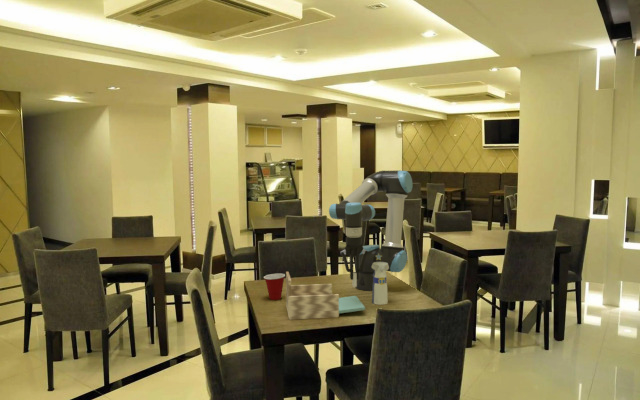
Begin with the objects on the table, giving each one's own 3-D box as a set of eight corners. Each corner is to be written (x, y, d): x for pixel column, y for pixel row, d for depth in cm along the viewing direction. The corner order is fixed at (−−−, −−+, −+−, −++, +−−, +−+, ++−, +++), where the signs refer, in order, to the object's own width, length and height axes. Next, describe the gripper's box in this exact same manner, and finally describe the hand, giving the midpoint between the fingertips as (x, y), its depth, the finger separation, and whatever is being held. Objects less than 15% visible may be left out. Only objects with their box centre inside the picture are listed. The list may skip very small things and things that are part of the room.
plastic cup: (265, 295, 243) (265, 272, 242) (286, 295, 243) (286, 272, 242) (262, 301, 232) (262, 277, 232) (284, 301, 232) (283, 277, 231)
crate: (331, 304, 227) (331, 269, 226) (338, 317, 208) (338, 279, 206) (286, 306, 224) (285, 271, 223) (289, 319, 205) (288, 281, 204)
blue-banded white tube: (391, 304, 226) (391, 253, 224) (374, 305, 225) (374, 253, 223) (386, 299, 234) (386, 250, 233) (369, 300, 233) (369, 250, 231)
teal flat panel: (332, 302, 227) (356, 299, 228) (339, 315, 208) (365, 311, 210) (331, 298, 227) (356, 295, 228) (338, 310, 208) (365, 307, 209)
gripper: (341, 238, 212) (342, 289, 214) (369, 236, 213) (370, 287, 215) (338, 235, 219) (339, 284, 221) (365, 234, 221) (366, 283, 223)
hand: (354, 286), depth 218 cm, fingers closed
